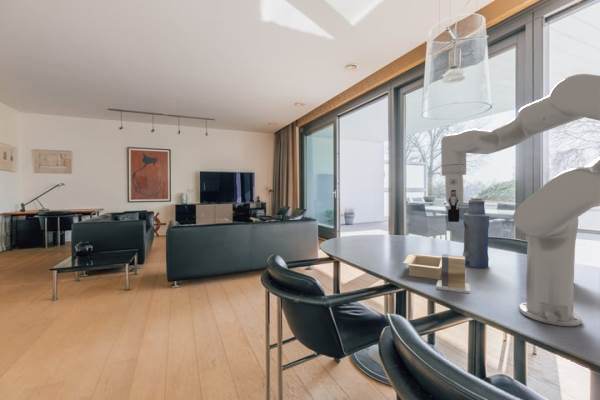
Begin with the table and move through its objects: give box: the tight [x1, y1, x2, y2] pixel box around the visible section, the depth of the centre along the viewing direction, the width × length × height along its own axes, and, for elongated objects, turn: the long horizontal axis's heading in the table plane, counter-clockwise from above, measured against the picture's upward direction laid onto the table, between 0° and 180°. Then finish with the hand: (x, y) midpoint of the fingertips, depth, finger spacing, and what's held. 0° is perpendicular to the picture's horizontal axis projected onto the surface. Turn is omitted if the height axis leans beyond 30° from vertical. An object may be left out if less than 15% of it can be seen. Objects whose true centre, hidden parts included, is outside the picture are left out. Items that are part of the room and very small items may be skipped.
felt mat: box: [435, 279, 471, 294], centre depth 99 cm, size 8×10×1 cm
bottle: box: [462, 197, 490, 269], centre depth 124 cm, size 10×10×30 cm
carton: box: [402, 253, 442, 280], centre depth 117 cm, size 20×16×5 cm
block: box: [441, 253, 466, 289], centre depth 98 cm, size 5×7×10 cm
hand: (453, 220), depth 98 cm, fingers open, 9 cm apart
